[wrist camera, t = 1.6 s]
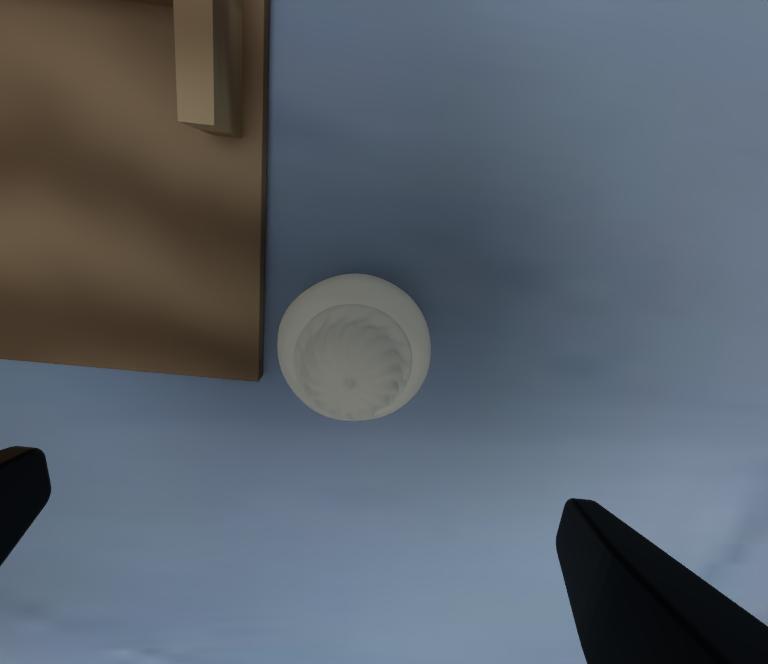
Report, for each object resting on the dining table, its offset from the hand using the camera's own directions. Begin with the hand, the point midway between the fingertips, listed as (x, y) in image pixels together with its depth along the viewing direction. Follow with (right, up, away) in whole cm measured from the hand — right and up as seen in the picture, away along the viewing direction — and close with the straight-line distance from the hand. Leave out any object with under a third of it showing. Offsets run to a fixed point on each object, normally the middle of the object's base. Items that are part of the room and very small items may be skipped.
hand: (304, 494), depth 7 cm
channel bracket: (-11, +9, +11) cm, 18 cm away
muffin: (0, +3, +13) cm, 14 cm away
